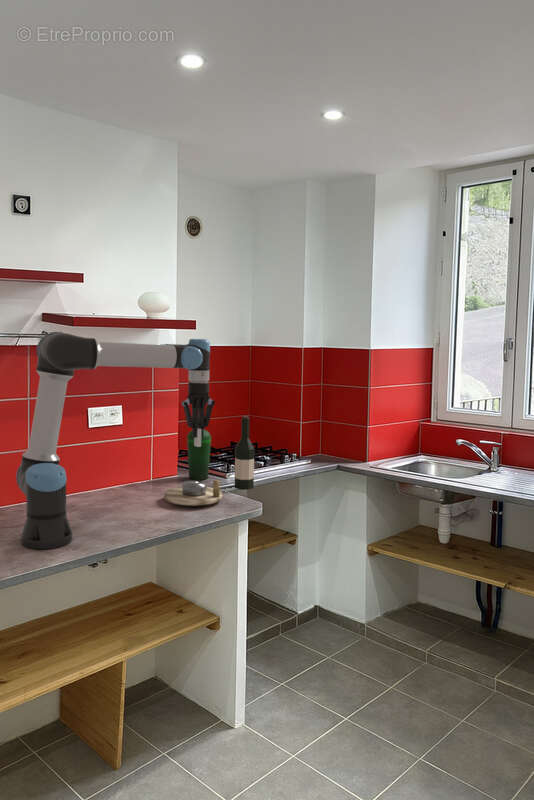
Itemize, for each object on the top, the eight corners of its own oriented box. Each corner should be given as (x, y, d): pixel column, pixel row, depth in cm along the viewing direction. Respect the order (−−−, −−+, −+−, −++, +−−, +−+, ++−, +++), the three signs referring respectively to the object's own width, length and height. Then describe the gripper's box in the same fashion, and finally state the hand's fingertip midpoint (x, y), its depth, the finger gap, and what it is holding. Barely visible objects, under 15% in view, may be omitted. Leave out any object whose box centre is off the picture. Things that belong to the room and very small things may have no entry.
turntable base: (183, 509, 240) (183, 505, 240) (165, 498, 253) (165, 495, 253) (221, 503, 249) (221, 500, 249) (202, 493, 262) (202, 490, 262)
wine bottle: (256, 485, 277) (258, 415, 273) (250, 490, 269) (252, 418, 265) (237, 483, 279) (239, 414, 275) (231, 488, 271) (232, 417, 267)
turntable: (207, 508, 237) (207, 488, 236) (153, 501, 244) (153, 481, 243) (231, 493, 257) (231, 475, 257) (181, 487, 265) (181, 469, 264)
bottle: (212, 476, 291) (213, 413, 288) (208, 481, 281) (209, 417, 277) (189, 474, 292) (189, 412, 289) (183, 480, 282) (184, 416, 278)
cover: (199, 497, 245) (199, 485, 244) (178, 494, 248) (178, 483, 248) (209, 492, 253) (210, 480, 253) (189, 489, 256) (189, 477, 256)
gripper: (187, 383, 230) (185, 449, 232) (219, 382, 237) (218, 446, 239) (177, 381, 236) (176, 445, 239) (209, 380, 243) (208, 442, 246)
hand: (197, 446), depth 239 cm, fingers closed
